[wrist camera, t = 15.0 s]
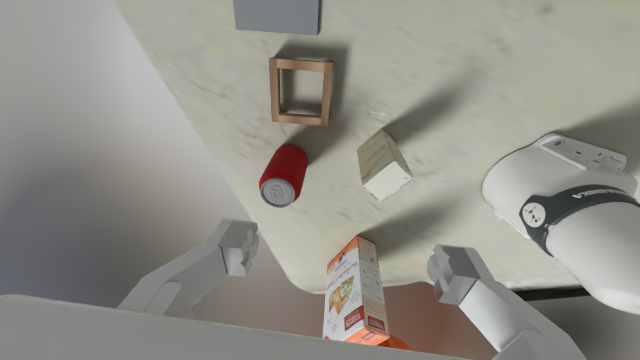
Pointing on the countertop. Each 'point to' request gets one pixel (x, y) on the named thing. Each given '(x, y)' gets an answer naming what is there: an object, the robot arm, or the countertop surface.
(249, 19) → the mat
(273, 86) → the wooden square frame
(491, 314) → the robot arm
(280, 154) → the beverage can
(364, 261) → the cracker box
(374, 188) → the skincare box
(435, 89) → the countertop surface
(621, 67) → the countertop surface
